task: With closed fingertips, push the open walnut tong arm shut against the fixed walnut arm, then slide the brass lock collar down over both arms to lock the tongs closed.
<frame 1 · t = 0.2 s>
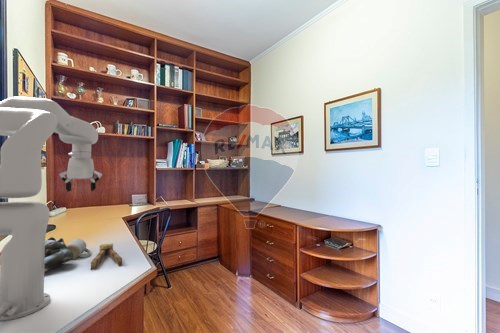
hand: (81, 191, 113), 31 cm above the table, fingers open, 9 cm apart
tong arm: (115, 256, 106), point 2 cm above the table, hinge at 25.0°
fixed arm: (99, 261, 105), on the table
ceramic mug: (77, 257, 110), on the table
lucky cat figurine: (47, 270, 96), on the table
lock collar: (106, 249, 113), point 3 cm above the table, slide at 0.0 cm
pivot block: (107, 254, 114), on the table
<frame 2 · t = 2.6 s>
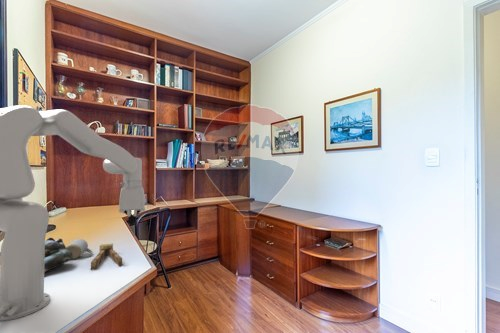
hand: (132, 224, 107), 16 cm above the table, fingers closed
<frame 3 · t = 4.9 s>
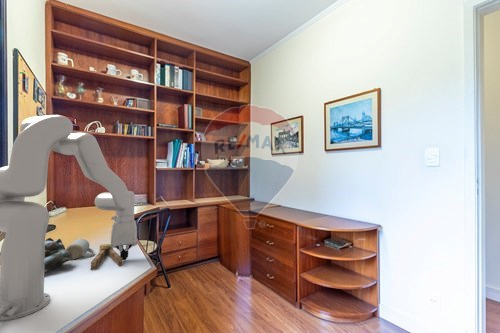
hand: (124, 259, 105), 1 cm above the table, fingers closed
tong arm: (115, 257, 106), point 2 cm above the table, hinge at 24.9°, touching gripper
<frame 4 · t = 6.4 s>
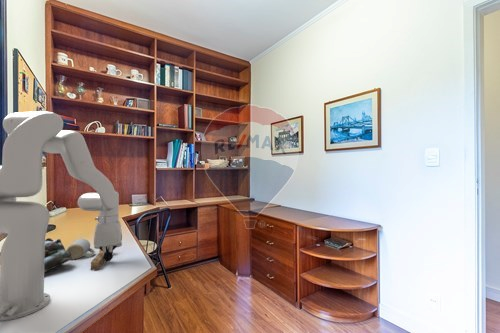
hand: (108, 260, 103), 1 cm above the table, fingers closed
tong arm: (102, 259, 103), point 2 cm above the table, hinge at -1.3°, touching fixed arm, gripper
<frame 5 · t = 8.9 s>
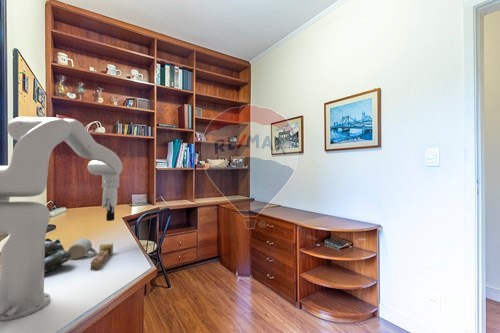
hand: (110, 220, 119), 15 cm above the table, fingers closed
tong arm: (102, 259, 103), point 2 cm above the table, hinge at -1.1°
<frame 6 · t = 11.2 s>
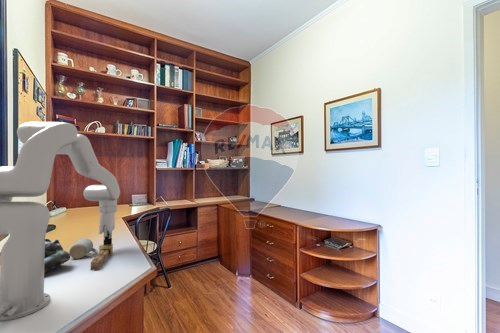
hand: (107, 246, 115), 3 cm above the table, fingers closed
lock collar: (106, 250, 112), point 3 cm above the table, slide at 0.5 cm, touching gripper
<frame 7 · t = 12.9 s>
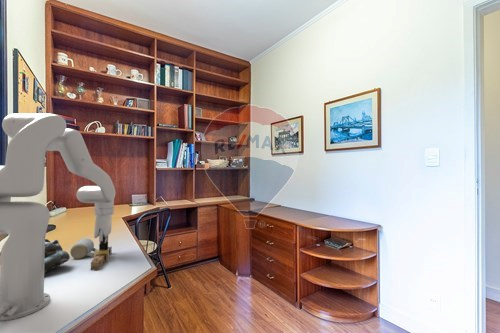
hand: (103, 251, 108), 4 cm above the table, fingers closed
lock collar: (101, 255, 105), point 3 cm above the table, slide at 7.8 cm, touching gripper
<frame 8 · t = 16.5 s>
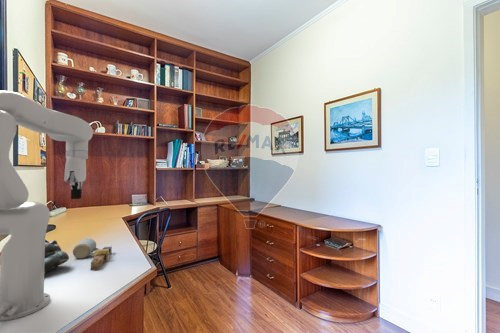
hand: (76, 198, 98), 29 cm above the table, fingers closed
lock collar: (101, 255, 105), point 3 cm above the table, slide at 7.9 cm
at the end: tong arm at -1° (first picture: +25°); lock collar slide at 7.9 cm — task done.
